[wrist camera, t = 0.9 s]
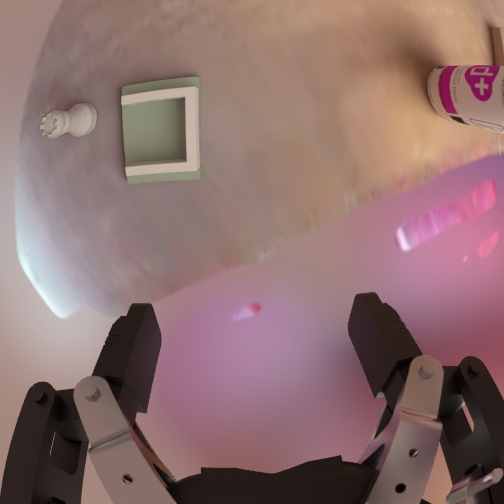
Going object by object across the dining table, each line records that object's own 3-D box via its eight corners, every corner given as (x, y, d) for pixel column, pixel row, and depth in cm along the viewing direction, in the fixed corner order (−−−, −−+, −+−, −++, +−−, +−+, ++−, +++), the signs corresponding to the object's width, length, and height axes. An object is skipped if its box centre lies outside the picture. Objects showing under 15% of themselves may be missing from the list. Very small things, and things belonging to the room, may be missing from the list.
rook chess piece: (101, 103, 25) (66, 103, 18) (95, 137, 27) (60, 147, 20) (73, 102, 24) (36, 104, 17) (68, 135, 26) (31, 145, 19)
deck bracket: (125, 87, 24) (112, 85, 21) (199, 77, 25) (195, 72, 22) (130, 181, 30) (119, 189, 27) (201, 177, 31) (197, 184, 28)
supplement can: (415, 91, 26) (500, 98, 13) (437, 56, 23) (515, 53, 9) (448, 131, 28) (526, 155, 15) (467, 95, 25) (541, 109, 12)
